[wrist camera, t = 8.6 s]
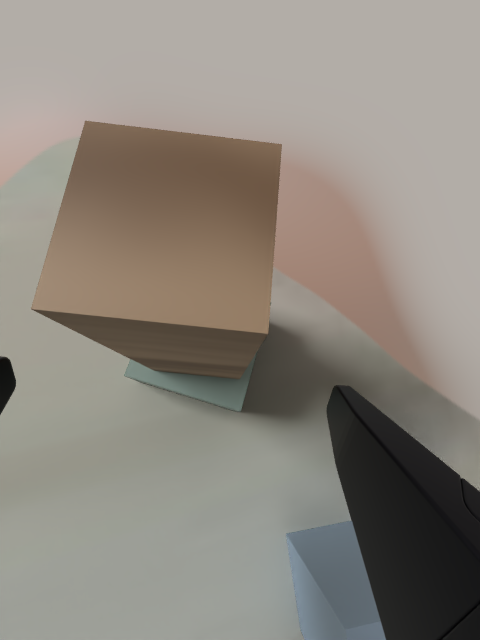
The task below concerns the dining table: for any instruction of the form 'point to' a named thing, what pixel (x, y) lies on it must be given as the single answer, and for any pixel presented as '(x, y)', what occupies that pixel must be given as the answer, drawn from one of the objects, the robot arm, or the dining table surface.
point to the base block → (196, 384)
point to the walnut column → (166, 247)
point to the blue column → (332, 585)
